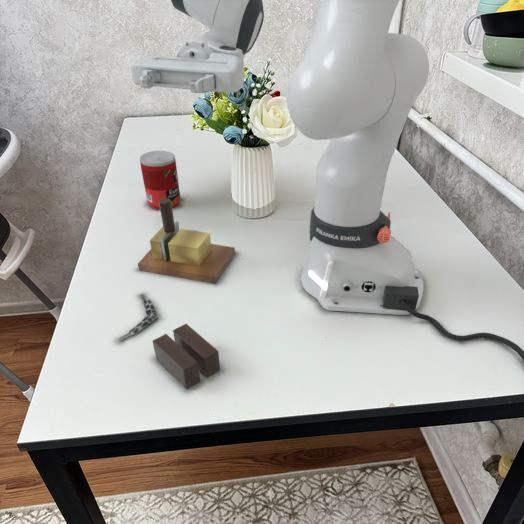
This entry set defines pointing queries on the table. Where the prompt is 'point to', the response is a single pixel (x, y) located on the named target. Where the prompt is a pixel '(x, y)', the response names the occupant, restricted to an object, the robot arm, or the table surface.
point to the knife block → (186, 355)
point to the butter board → (188, 256)
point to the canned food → (160, 177)
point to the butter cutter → (167, 226)
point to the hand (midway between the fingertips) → (168, 85)
